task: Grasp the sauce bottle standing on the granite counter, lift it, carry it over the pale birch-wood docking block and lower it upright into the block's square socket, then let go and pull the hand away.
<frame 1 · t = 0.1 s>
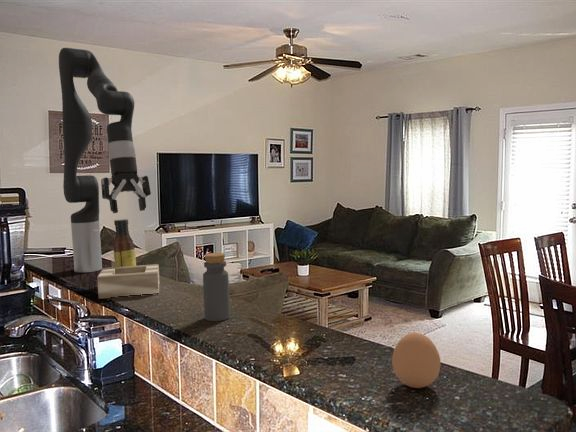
hand: (129, 211, 160), 22 cm above the counter, tool pointing down, fingers open, 8 cm apart
sauce bottle: (126, 283, 166), on the counter
dock block: (130, 290, 156), on the counter
egg: (416, 387, 84), on the counter
bottle: (217, 318, 126), on the counter
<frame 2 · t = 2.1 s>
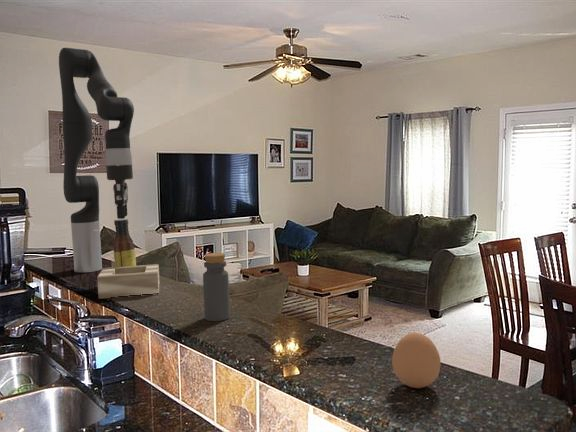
hand: (122, 217, 164), 20 cm above the counter, tool pointing down, fingers open, 8 cm apart
nothing on the counter moved.
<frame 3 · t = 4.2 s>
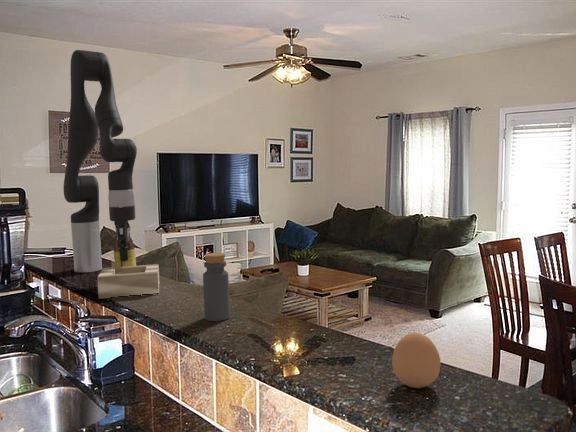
hand: (125, 258, 165), 8 cm above the counter, tool pointing down, fingers closed on sauce bottle, 6 cm apart
sauce bottle: (126, 283, 166), on the counter, touching gripper
everything else where it was.
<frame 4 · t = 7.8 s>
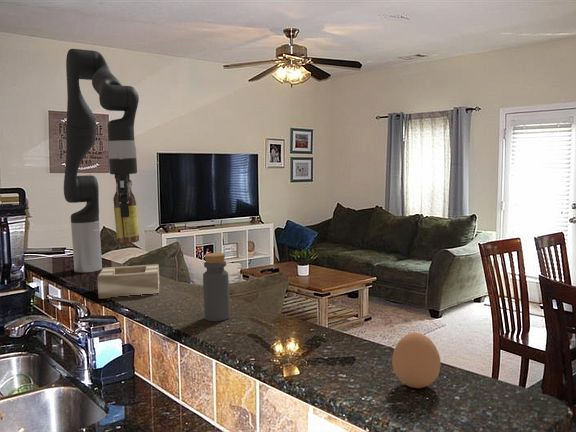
hand: (126, 215, 154), 22 cm above the counter, tool pointing down, fingers closed on sauce bottle, 6 cm apart
sauce bottle: (127, 243, 155), point 14 cm above the counter, touching gripper
everything else where it was.
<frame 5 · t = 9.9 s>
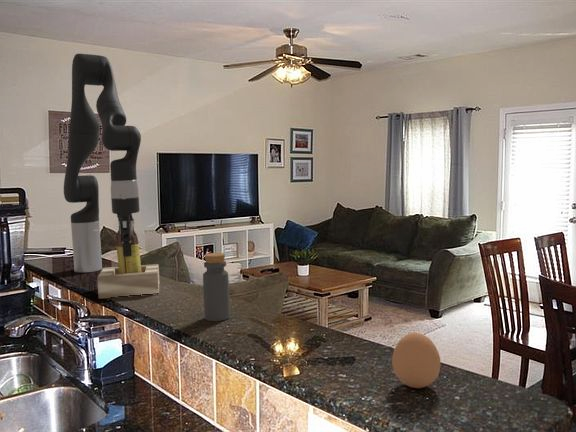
hand: (128, 254, 155), 11 cm above the counter, tool pointing down, fingers closed on sauce bottle, 6 cm apart
sauce bottle: (130, 281, 156), point 3 cm above the counter, touching gripper
everything else where it was.
when the fingers open (9 cm above the counter, at t = 11.5 s): sauce bottle drops 1 cm, resting in dock block.
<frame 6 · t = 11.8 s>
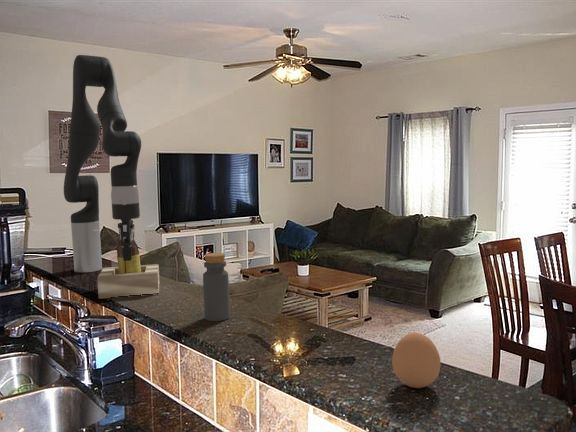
hand: (128, 258, 155), 10 cm above the counter, tool pointing down, fingers open, 8 cm apart
sauce bottle: (130, 291, 156), resting in dock block
everything else where it was.
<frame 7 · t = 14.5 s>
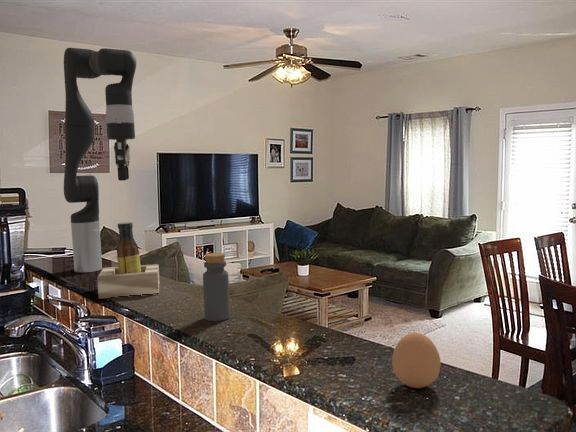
hand: (123, 180, 153), 32 cm above the counter, tool pointing down, fingers open, 8 cm apart
nothing on the counter moved.
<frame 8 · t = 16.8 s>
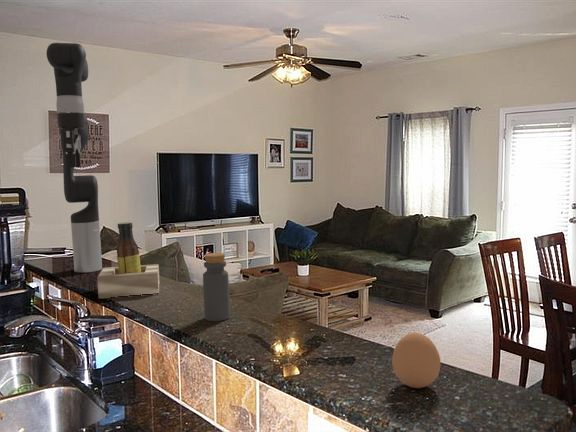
hand: (74, 167, 161), 36 cm above the counter, tool pointing down, fingers open, 8 cm apart
nothing on the counter moved.
at the end: sauce bottle 0.2 cm off-centre on the dock block, point 0.0 cm above the dock block's base; sauce bottle tilted 0°; the gripper is holding nothing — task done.
